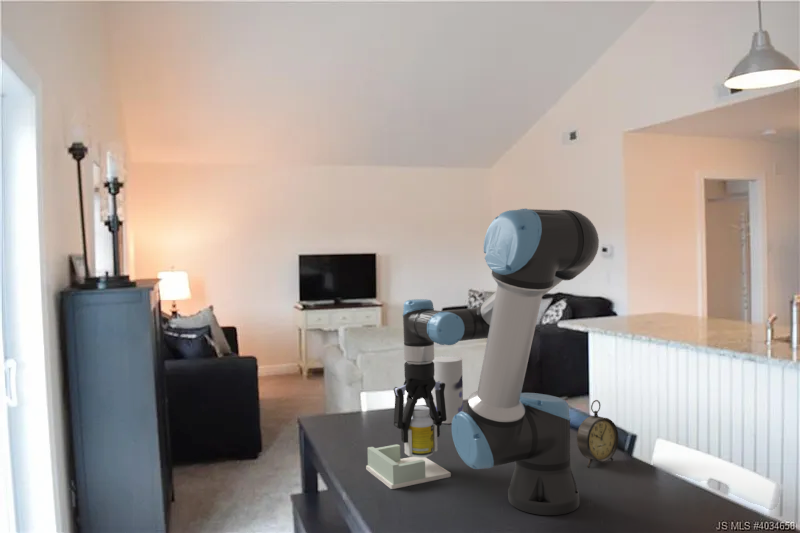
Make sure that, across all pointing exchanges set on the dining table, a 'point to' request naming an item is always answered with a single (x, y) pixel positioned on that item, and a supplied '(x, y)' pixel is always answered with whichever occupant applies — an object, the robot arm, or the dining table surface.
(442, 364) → the container
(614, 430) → the alarm clock
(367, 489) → the dining table surface
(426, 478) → the dock
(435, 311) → the robot arm
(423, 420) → the pill bottle
